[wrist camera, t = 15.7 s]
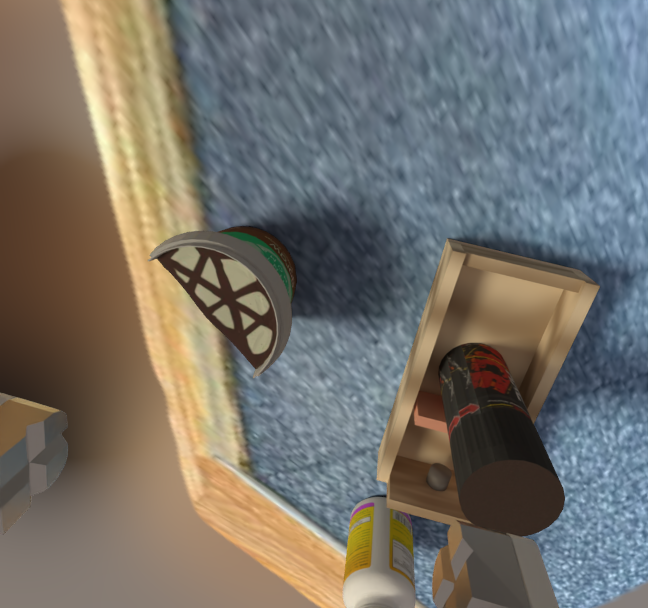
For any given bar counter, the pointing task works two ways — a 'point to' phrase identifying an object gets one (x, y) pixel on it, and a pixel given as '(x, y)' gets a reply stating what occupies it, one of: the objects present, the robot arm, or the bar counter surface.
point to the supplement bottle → (379, 557)
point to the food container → (237, 286)
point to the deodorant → (496, 445)
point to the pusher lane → (487, 328)
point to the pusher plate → (430, 412)
